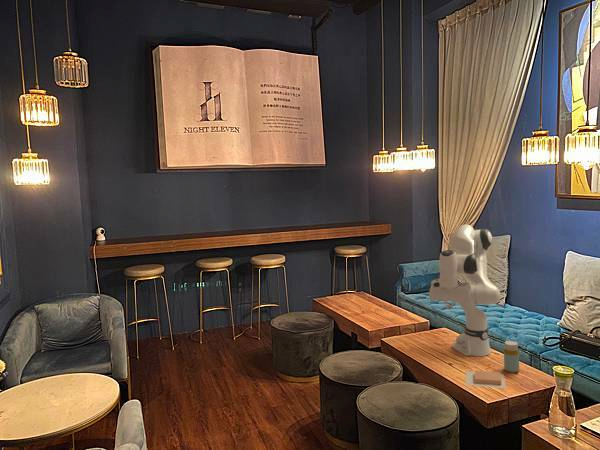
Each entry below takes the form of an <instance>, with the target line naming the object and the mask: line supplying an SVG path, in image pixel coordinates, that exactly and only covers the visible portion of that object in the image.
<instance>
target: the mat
mask: <svg viewBox="0 0 600 450" xmlns="http://www.w3.org/2000/svg"><path fill="white" fill-rule="evenodd" d="M500 375H501V385H496V384H484V383H475V371H468V370H465V386H472V387H483V386H484V387H485V388H497V389H506V388H507V387H506V381H505V374H504V373H500ZM484 387H483V388H484Z"/></svg>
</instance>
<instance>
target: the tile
mask: <svg viewBox="0 0 600 450" xmlns="http://www.w3.org/2000/svg"><path fill="white" fill-rule="evenodd" d="M474 372H475V383H484V384H496V385H501V375H500V374H501V372H500V371H490V370H489V371H488V370H476V369H475V370H474Z"/></svg>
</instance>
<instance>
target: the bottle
mask: <svg viewBox="0 0 600 450" xmlns="http://www.w3.org/2000/svg"><path fill="white" fill-rule="evenodd" d="M518 348H519V343H518V341H515V340H506V341H504V350H503V366H504V367H503V368H504V369H503V370H504V371H505V372H507V373H512V374H517V373H519V372H520V352H519V351H520V350H519V349H518Z"/></svg>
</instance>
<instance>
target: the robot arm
mask: <svg viewBox="0 0 600 450" xmlns="http://www.w3.org/2000/svg"><path fill="white" fill-rule="evenodd" d="M491 233H492V232H490V230H489V229H487V228H481V229H475V228H474V227H473V226H472V225H470V224H462V225H460V226H459V227H458V228H457V229H456V230H455V232H454V234H453V236H452V239H451V245H452V246H453V248H454V249H455V250H456V251H458V252H460V253H461V254H458V253H457V254H456V251H454V250H451V249H446V250H442V251H441V252H440V254H439V260H438V261H439V263H438V266H439V278H436V279H433V280H431V281H430V282H431V283H430V288H429V291H428V299H429V300H430V301H442V302H444V305H445V306H446V310H453V309H454V306H455V302H456V303H457V304H458V305H459V306H460V307H461V309H462V310H463V311H464V312H463V313H464V314H465V323H466V325H465V326H463V327H462V329H463V330H464V331H463V332H462V333H460V334H458V336H456V338H455V342H454V343H452V344H451V347H452V348H453V349H454V350H456V351H458V352H459V353H461V354H463V355H465V356H467V357H468V356H472V357H473V356H474V357H485V356H489V355H490V354H491V353H492V350H491V346H490V340H489V328H488V316H487V314H486V312H485V311H484V310H482V309H479V308H478V307H477V306H476V305H484V306H489V305H496V304H498V303H499V302H500V300H501V296H502V295H501V291H500V289H499V287H498V286H495V285H494V284H493V283H492V282H491V280H490V279H489V278H488V259H487V254H486V251H488V249H489V247H490V246H491V245H492V243H493V235H492V234H491ZM462 253H465V254H462ZM459 274H466V277H467V279H468V280H469V281H470V282H472V283H474V284H470V283H468V282H459V279H458V277H459V276H458V275H459ZM448 301H451V304H448Z"/></svg>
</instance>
